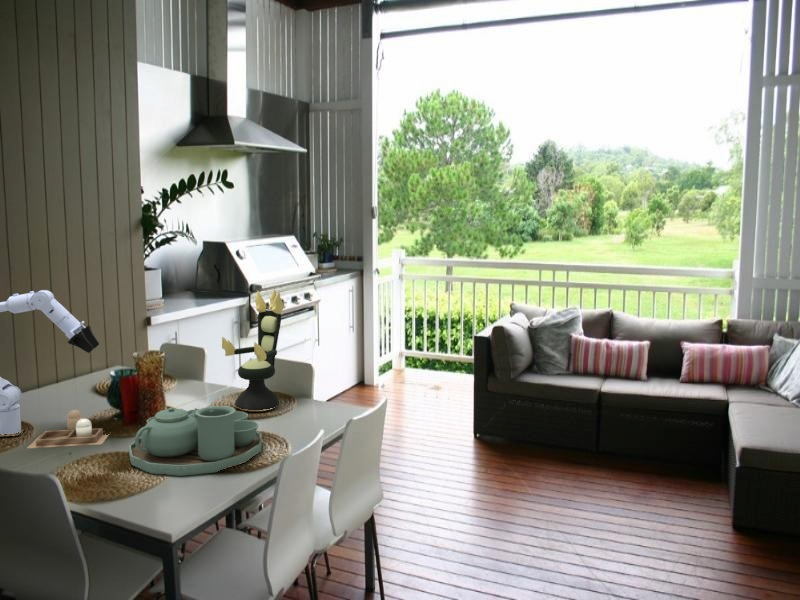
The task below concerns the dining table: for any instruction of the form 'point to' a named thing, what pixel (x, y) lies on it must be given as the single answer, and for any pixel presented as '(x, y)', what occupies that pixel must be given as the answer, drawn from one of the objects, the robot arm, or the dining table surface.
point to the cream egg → (83, 428)
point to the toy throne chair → (260, 356)
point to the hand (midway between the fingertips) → (94, 348)
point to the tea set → (195, 441)
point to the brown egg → (73, 419)
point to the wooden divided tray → (67, 439)
